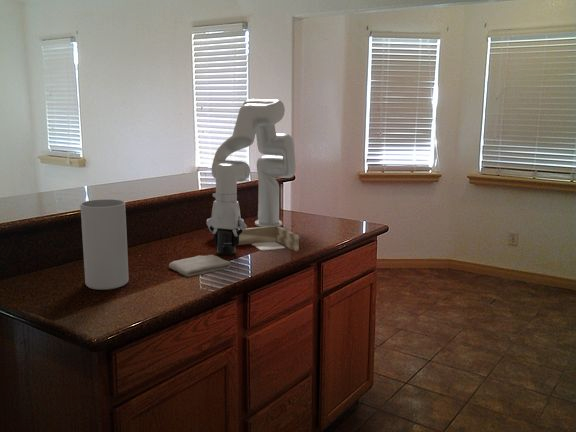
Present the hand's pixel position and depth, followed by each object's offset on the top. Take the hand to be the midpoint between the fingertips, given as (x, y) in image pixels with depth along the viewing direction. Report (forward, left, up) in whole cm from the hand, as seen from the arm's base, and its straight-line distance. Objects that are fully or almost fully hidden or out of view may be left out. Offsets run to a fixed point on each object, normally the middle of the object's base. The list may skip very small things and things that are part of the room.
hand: (226, 244), depth 195 cm
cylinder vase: (+17, -45, -3) cm, 48 cm away
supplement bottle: (0, 0, -3) cm, 3 cm away
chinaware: (-20, +7, -3) cm, 21 cm away
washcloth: (+13, -14, -4) cm, 20 cm away
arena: (-1, +17, -3) cm, 17 cm away
